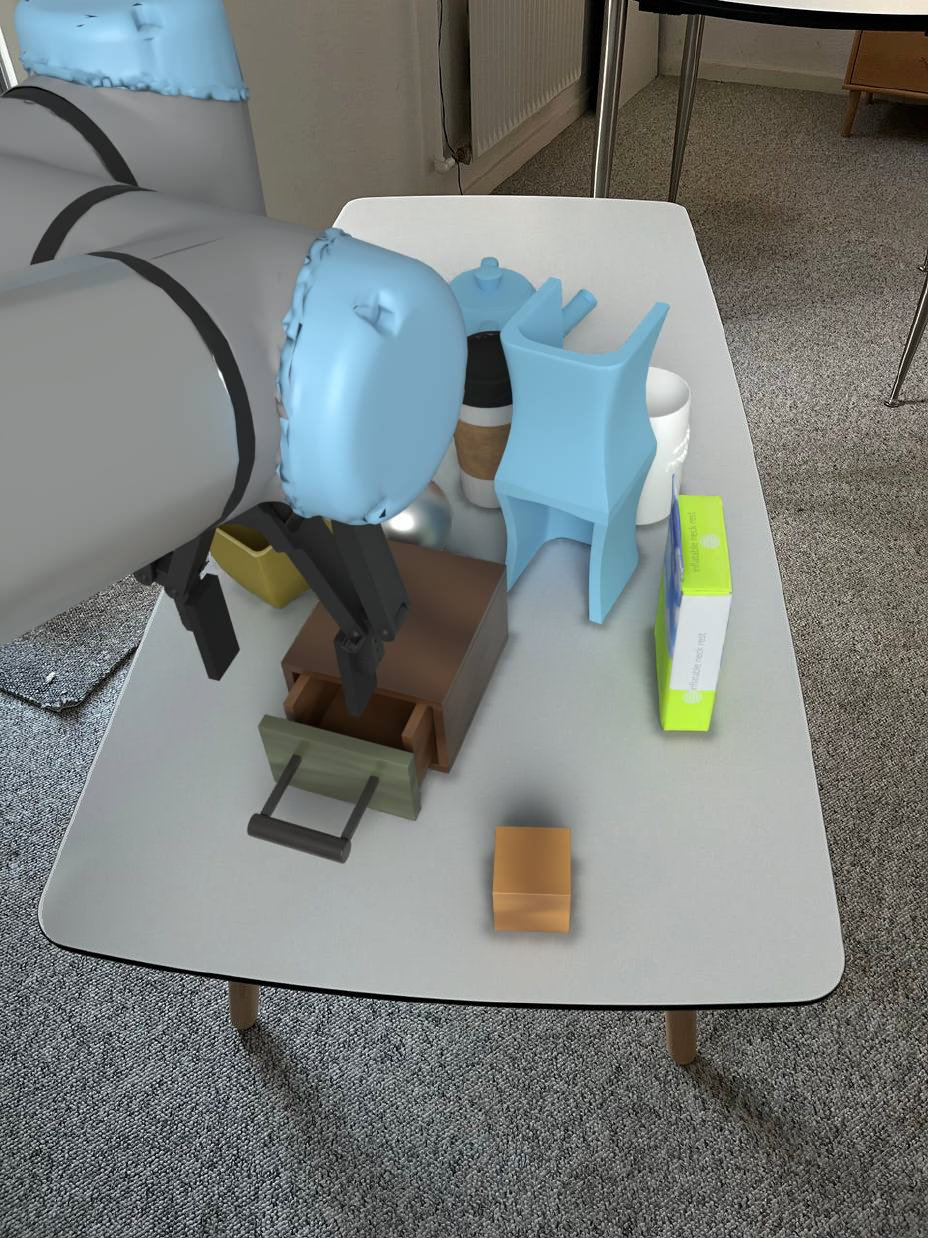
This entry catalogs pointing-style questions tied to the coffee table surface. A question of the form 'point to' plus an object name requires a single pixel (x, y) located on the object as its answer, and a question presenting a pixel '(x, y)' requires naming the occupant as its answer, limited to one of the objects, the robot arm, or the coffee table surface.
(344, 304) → the robot arm
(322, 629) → the cabinet
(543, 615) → the coffee table surface
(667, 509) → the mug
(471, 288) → the teapot
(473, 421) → the coffee cup
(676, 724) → the box
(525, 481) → the blue doll chair
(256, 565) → the flower pot
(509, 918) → the block
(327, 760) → the drawer
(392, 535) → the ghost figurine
